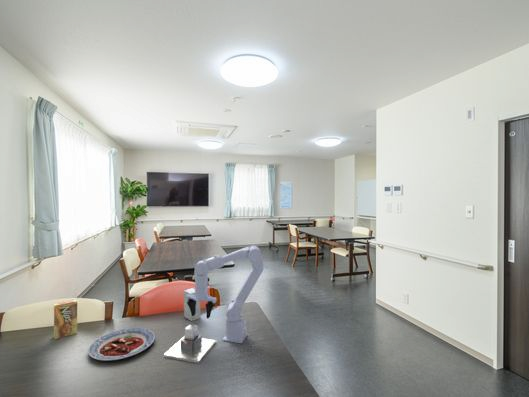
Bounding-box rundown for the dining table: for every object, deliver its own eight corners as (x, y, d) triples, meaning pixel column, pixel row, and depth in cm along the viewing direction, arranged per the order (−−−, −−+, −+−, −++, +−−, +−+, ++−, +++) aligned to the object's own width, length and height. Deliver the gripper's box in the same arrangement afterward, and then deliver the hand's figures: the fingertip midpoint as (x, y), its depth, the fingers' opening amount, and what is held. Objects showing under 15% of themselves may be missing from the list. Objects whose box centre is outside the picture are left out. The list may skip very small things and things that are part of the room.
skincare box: (200, 318, 146) (200, 290, 146) (190, 321, 142) (190, 293, 142) (192, 313, 152) (193, 287, 152) (183, 316, 148) (183, 289, 148)
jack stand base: (216, 342, 122) (216, 331, 122) (198, 363, 106) (198, 350, 106) (184, 337, 126) (184, 326, 126) (163, 356, 110) (163, 344, 110)
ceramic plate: (128, 369, 103) (128, 361, 103) (72, 360, 108) (72, 353, 108) (166, 335, 128) (166, 329, 128) (119, 329, 133) (119, 324, 133)
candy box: (76, 330, 132) (76, 299, 132) (77, 333, 129) (77, 301, 129) (53, 336, 127) (53, 303, 127) (54, 339, 123) (54, 306, 123)
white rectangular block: (197, 344, 118) (198, 325, 118) (193, 350, 114) (193, 329, 114) (189, 343, 119) (189, 324, 119) (184, 348, 115) (184, 328, 115)
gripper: (182, 288, 123) (182, 318, 123) (211, 291, 119) (211, 322, 119) (190, 283, 130) (190, 311, 130) (218, 286, 126) (218, 315, 126)
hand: (200, 316), depth 125 cm, fingers open, 7 cm apart
